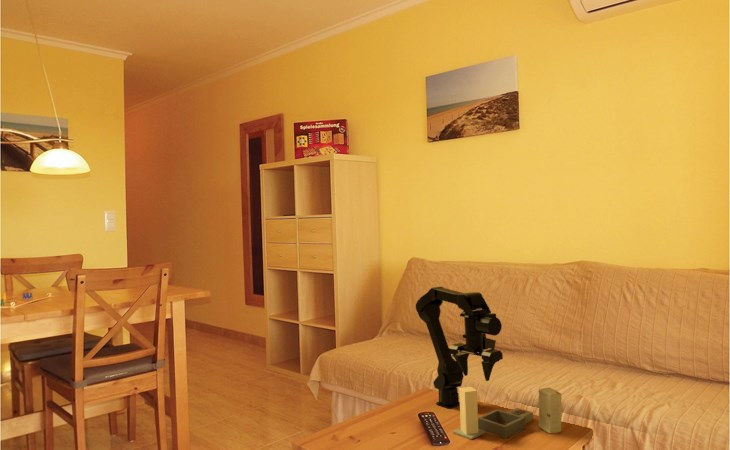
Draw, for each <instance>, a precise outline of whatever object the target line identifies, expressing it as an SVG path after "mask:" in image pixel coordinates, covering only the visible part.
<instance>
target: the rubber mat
mask: <svg viewBox="0 0 730 450" xmlns="http://www.w3.org/2000/svg"><path fill="white" fill-rule="evenodd" d="M452 433H453V434H454V433H455V434H454V435H457V436H459V435H460V437H463V438H465V439H467V440H470V439H471V440H474V439H476V438H477V437H480V436H482V435H484V434H486V433H487V432H486V431H484V430H481V429H478V433H474V434H467V435H466V434H465V433H464V432H463V431H462V430H461V427H460V428H457V429H455V430H453V431H452Z"/></svg>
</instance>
